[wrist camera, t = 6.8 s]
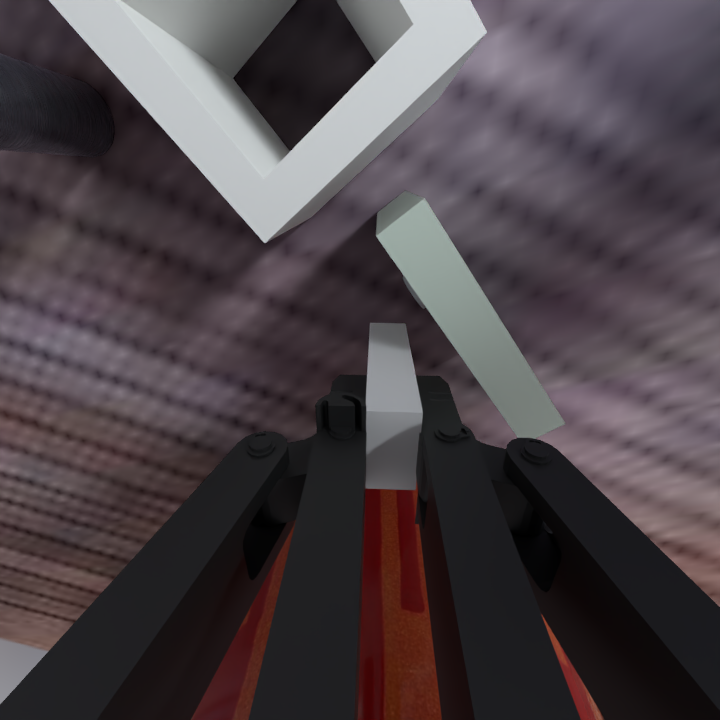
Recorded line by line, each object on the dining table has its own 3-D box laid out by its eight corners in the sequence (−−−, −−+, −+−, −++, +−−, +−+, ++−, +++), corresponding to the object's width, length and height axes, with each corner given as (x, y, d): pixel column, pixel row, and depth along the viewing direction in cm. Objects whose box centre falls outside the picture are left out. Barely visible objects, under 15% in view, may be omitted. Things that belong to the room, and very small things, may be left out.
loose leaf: (405, 190, 17) (424, 197, 10) (498, 335, 20) (565, 423, 13) (372, 216, 17) (367, 242, 10) (467, 353, 20) (515, 448, 13)
